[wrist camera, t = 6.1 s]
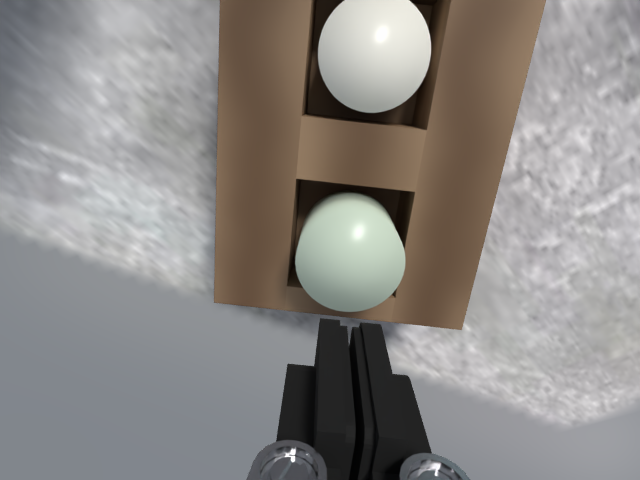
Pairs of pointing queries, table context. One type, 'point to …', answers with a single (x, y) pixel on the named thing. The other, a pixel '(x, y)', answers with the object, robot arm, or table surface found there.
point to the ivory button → (374, 53)
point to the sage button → (349, 252)
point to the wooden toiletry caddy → (364, 151)
